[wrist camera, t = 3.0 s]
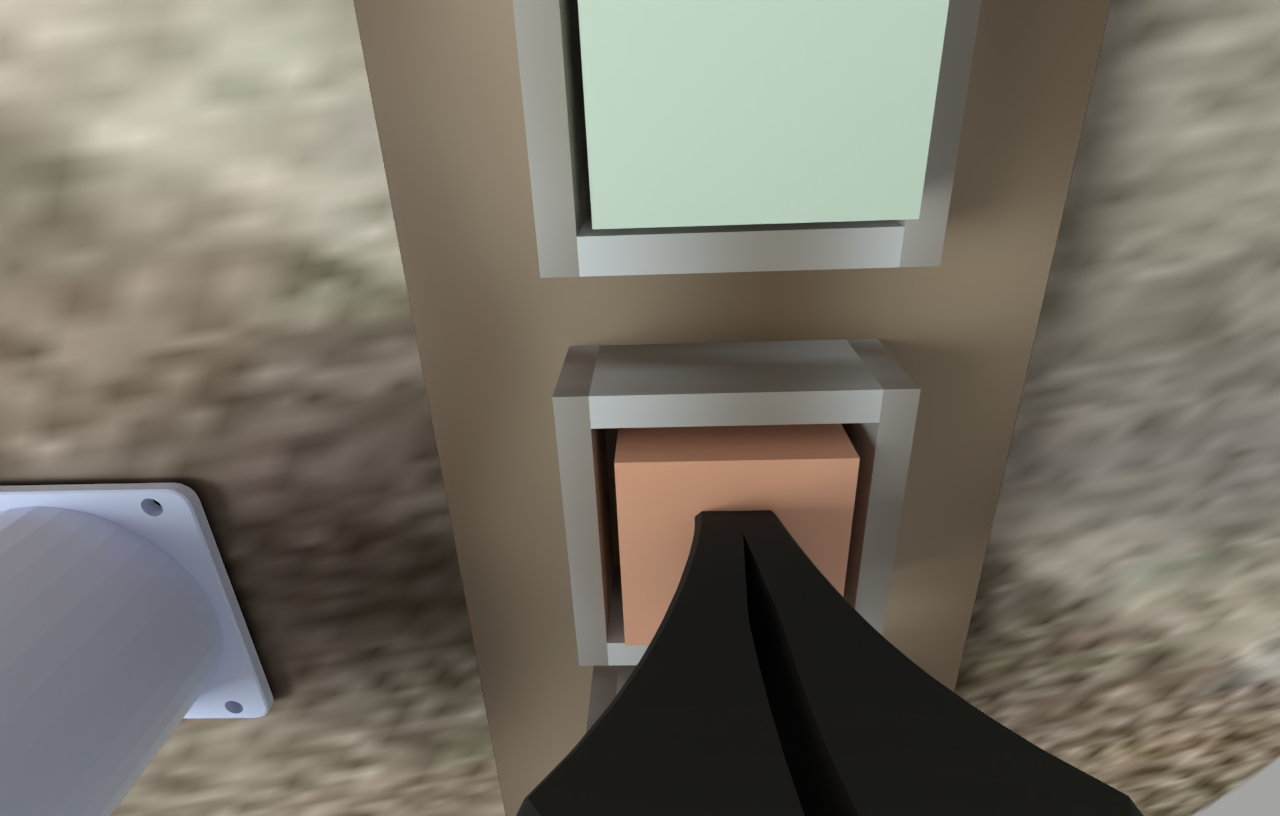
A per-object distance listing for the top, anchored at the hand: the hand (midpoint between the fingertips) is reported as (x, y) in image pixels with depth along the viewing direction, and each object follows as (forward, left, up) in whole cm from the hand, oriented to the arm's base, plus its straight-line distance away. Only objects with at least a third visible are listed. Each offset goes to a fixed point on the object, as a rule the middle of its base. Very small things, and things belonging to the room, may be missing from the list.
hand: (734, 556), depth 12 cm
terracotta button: (0, 0, -2) cm, 2 cm away
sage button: (0, +8, -1) cm, 8 cm away
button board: (0, 0, -5) cm, 5 cm away
